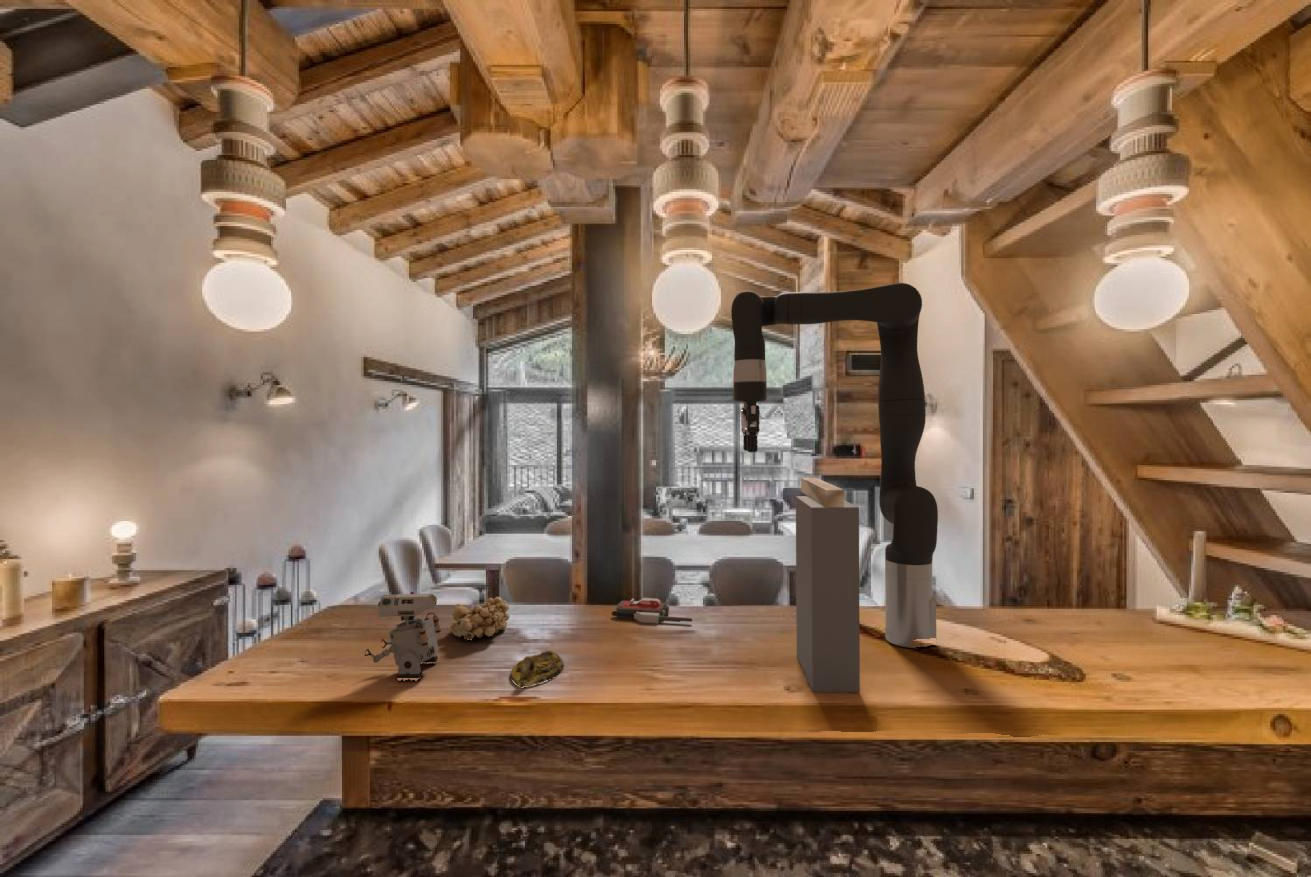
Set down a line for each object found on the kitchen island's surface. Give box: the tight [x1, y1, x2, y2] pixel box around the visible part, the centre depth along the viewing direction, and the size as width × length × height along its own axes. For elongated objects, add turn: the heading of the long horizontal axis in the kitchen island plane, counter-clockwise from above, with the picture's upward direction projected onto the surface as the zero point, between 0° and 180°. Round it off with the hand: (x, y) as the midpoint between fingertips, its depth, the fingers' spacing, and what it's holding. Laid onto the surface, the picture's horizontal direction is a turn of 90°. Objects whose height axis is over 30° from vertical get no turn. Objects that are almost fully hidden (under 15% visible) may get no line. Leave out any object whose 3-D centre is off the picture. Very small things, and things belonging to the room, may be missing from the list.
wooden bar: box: [800, 477, 845, 508], centre depth 113 cm, size 3×24×3 cm, turn 176°
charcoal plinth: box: [795, 495, 861, 693], centre depth 109 cm, size 8×16×32 cm, turn 176°
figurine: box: [364, 591, 442, 679], centre depth 112 cm, size 9×12×15 cm
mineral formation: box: [448, 596, 511, 640], centre depth 130 cm, size 8×13×15 cm
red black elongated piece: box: [611, 597, 693, 625], centre depth 143 cm, size 9×4×20 cm
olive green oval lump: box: [510, 650, 565, 687], centre depth 112 cm, size 9×5×15 cm
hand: (750, 451), depth 136 cm, fingers open, 8 cm apart
